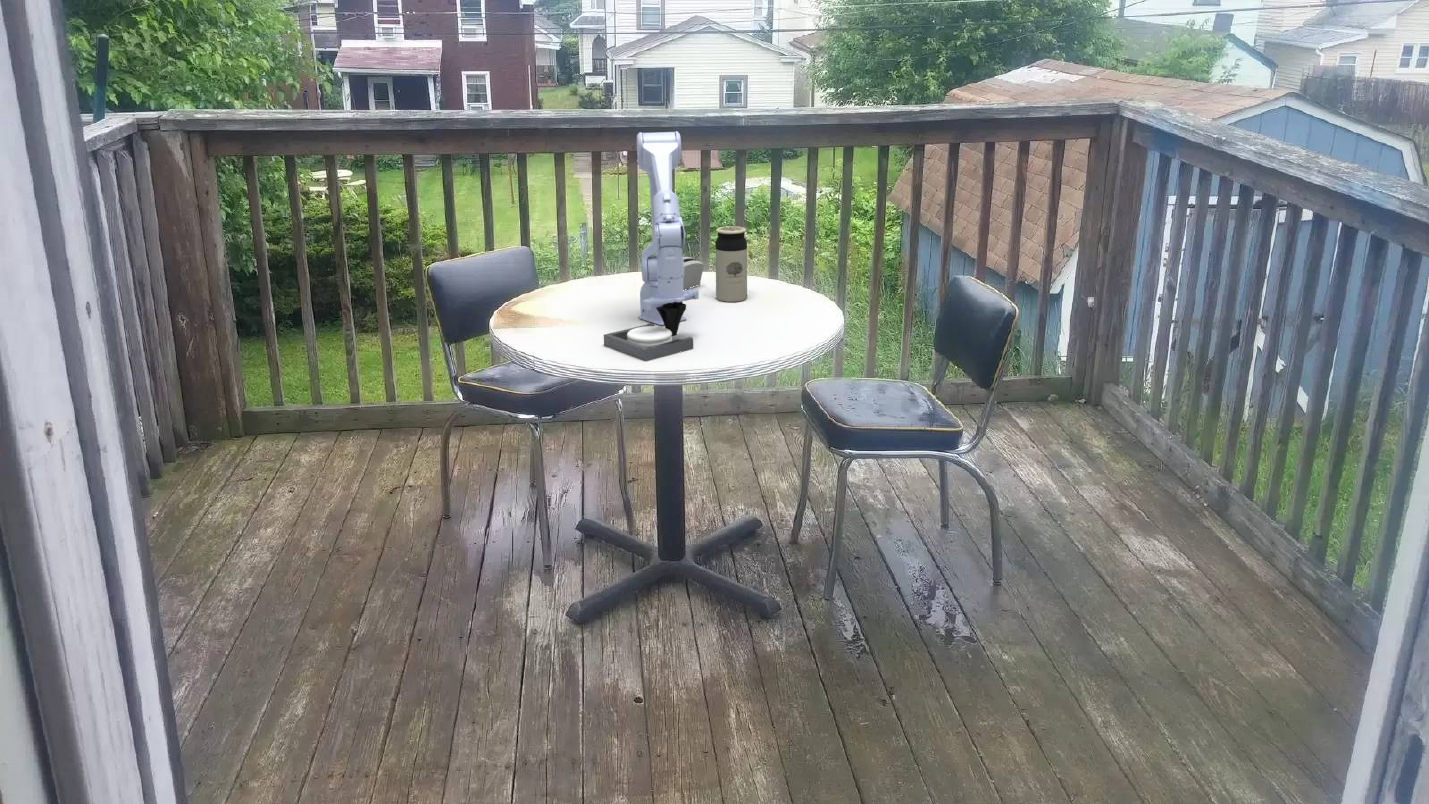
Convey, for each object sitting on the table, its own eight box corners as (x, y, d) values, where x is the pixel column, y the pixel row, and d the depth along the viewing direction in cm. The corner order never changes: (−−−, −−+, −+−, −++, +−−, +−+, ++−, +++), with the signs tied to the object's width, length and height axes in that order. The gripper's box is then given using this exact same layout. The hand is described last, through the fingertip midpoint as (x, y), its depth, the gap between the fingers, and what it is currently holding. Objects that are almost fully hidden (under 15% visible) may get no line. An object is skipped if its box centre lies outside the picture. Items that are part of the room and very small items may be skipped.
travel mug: (716, 294, 291) (715, 225, 285) (747, 294, 291) (747, 225, 284) (715, 302, 283) (714, 232, 277) (746, 302, 283) (746, 232, 277)
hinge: (685, 282, 304) (694, 249, 299) (698, 290, 302) (708, 257, 297) (646, 295, 291) (655, 261, 286) (660, 304, 289) (669, 270, 284)
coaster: (650, 337, 256) (649, 322, 254) (681, 346, 249) (681, 330, 248) (618, 347, 249) (617, 332, 248) (649, 356, 242) (649, 341, 241)
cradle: (604, 345, 250) (603, 334, 249) (651, 333, 258) (650, 323, 257) (645, 361, 239) (645, 349, 238) (693, 348, 247) (693, 337, 246)
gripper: (655, 284, 240) (657, 345, 245) (707, 273, 249) (707, 332, 254) (635, 279, 245) (637, 338, 250) (687, 268, 254) (688, 326, 259)
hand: (671, 335), depth 252 cm, fingers closed
